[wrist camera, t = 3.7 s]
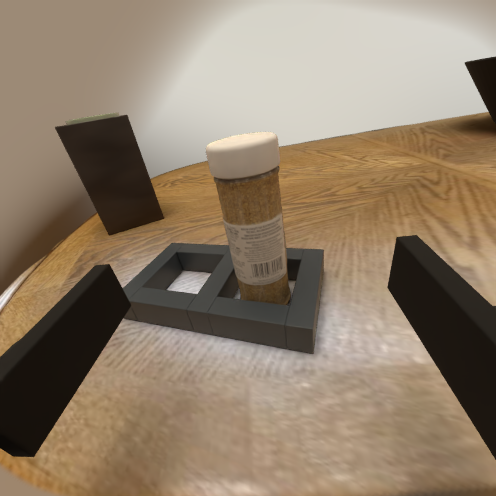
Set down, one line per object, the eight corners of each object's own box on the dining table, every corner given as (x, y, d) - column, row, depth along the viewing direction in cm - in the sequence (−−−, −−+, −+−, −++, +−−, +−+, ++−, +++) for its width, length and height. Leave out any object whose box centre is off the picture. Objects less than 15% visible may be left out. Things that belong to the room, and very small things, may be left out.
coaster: (63, 125, 33) (61, 121, 32) (70, 125, 38) (69, 121, 38) (120, 115, 35) (118, 111, 35) (119, 116, 41) (117, 113, 40)
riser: (109, 235, 40) (54, 127, 32) (109, 218, 47) (65, 126, 39) (164, 218, 43) (127, 114, 35) (156, 204, 50) (124, 115, 42)
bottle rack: (123, 318, 23) (111, 298, 21) (178, 260, 30) (171, 242, 29) (313, 354, 17) (312, 329, 16) (323, 270, 24) (323, 249, 23)
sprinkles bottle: (287, 279, 24) (273, 127, 17) (294, 314, 20) (282, 135, 13) (240, 285, 24) (209, 138, 17) (239, 320, 20) (197, 149, 13)
